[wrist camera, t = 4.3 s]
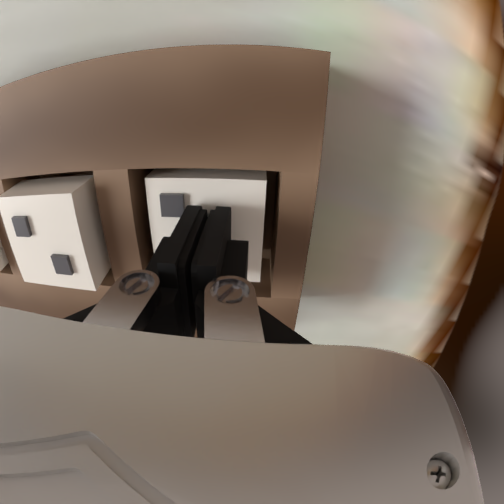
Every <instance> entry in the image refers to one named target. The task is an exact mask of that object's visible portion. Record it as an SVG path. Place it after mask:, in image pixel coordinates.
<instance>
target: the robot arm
mask: <svg viewBox="0 0 504 504" xmlns="http://www.w3.org/2000/svg"><path fill="white" fill-rule="evenodd" d="M248 249H249V241H245V240H231V207H225V206H216V209H215V210H210V213H209V216H208V214H207V210H206V209H202V206H198V205H187V206H186V208H185V210H184V212H183V214H182V215H181V217H180V219H179V221H178V223H177V225H176V226H175V228H174V230H173V232H172V234H171V236H170V237H163V238H162V240H161V242H160V243H159V245H158V247H157V249H156V251H155V252H154V254H153V256H152V258H151V260H150V262H149V263H148V265H147V267H146V269H145V270H133V271H130V272H127V273H125V274H123V275H121V276H120V277H119V278H118V279H117V280H116V281H115V282H114V284H113V285H112V286H111V287H110V289H109V290H108V291H107V292H106V293H105V295H104V296H103V297H102V298H101V300H100V301H99V302H98V303H97V304H95V305H92V306H90V307H88V308H86V309H83V310H81V311H79V312H77V313H74V314H72V315H70V316H68V317H65V318H63V319H61V318H56V317H51V316H46V315H41V314H36V313H31V312H27V311H22V310H18V309H12V308H7V307H2V306H0V504H484V500H483V495H482V490H481V485H480V480H479V476H478V471H477V467H476V463H475V459H474V455H473V451H472V447H471V444H470V441H469V438H468V435H467V432H466V429H465V426H464V423H463V420H462V417H461V415H460V412H459V410H458V408H457V405H456V403H455V401H454V399H453V397H452V395H451V393H450V391H449V389H448V387H447V386H446V384H445V382H444V381H443V379H442V378H441V377H440V376H439V374H438V373H437V372H436V371H435V370H434V369H433V368H432V367H430V366H429V365H428V364H426V363H425V362H422V361H420V360H418V359H416V358H414V357H411V356H408V355H405V354H401V353H398V352H394V351H390V350H384V349H378V348H373V347H362V346H346V345H316V344H312V343H310V342H309V341H308V340H306V339H305V338H303V337H302V336H300V335H299V334H298V333H296V332H295V331H293V330H292V329H291V328H289V327H288V326H286V325H285V324H284V323H282V322H281V321H279V320H278V319H277V318H275V317H274V316H272V315H271V314H270V313H268V312H267V311H266V310H264V309H263V308H261V307H260V306H259V305H258V303H257V298H256V292H255V288H254V286H253V284H252V283H250V282H249V281H248V280H247V271H248ZM196 330H197V337H198V338H195V337H194V336H195V331H196Z"/></svg>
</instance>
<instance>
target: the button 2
mask: <svg viewBox="0 0 504 504" xmlns="http://www.w3.org/2000/svg"><path fill="white" fill-rule="evenodd" d="M0 212H1V216H2V219H3V223H4V226H5V229H6V232H7V235H8V239H9V242H10V245H11V247H12V250H13V253H14V256H15V259H16V261H17V264H18V267H19V269H20V272H21V274H22V277H23V279H24V282H30V283H37V284H44V285H51V286H59V287H66V288H74V289H82V290H91V291H97V289H98V287H99V286H100V284H101V283H102V281H103V279H104V278H105V276H106V275H107V273H108V271H109V270H110V268H111V264H110V259H109V255H108V251H107V246H106V242H105V237H104V233H103V228H102V223H101V218H100V212H99V207H98V201H97V195H96V189H95V183H94V176H93V175H83V176H68V177H54V178H42V179H32V180H22V181H21V182H19V183H18V184H16V185H14V186H13V187H11V188H10V189H9V190H7V191H6V192H4V193H3V194H1V195H0Z"/></svg>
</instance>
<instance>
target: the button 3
mask: <svg viewBox="0 0 504 504" xmlns="http://www.w3.org/2000/svg"><path fill="white" fill-rule="evenodd" d="M266 184H267V176H266V171H263V170H242V169H207V168H155V169H154V170H153V171H151V172H150V173H149V174H148V175H147V176H146V177H145V186H146V196H147V205H148V214H149V222H150V229H151V237H152V244H153V251H154V252H155V251H156V249H157V247H158V245H159V243H160V242H161V240H162V238H163V237H170V236H171V234H172V232H173V230H174V228H175V226H176V225H177V223H178V221H179V219H180V217H181V215H182V214H183V212H184V210H185V208H186V206H187V205H198V206H202V209H206V210H207V214H208V216H209V213H210V210H215V209H216V206H225V207H231V240H245V241H249V249H248V271H247V280H248V281H249V282H260V275H261V261H262V246H263V231H264V215H265V200H266Z"/></svg>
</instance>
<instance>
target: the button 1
mask: <svg viewBox="0 0 504 504" xmlns="http://www.w3.org/2000/svg"><path fill="white" fill-rule="evenodd" d="M8 263H9V262H8V260H7V257H6V254H5V252H4V249H3V246H2V243H1V240H0V271H1V270H2V269H3V268H4V267H5V266H6V265H7V264H8Z"/></svg>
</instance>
